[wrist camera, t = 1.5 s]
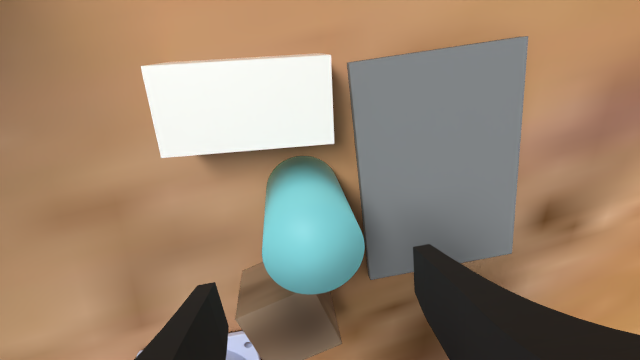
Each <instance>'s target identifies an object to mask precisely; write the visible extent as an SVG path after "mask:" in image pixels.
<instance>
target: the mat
mask: <svg viewBox="0 0 640 360" xmlns="http://www.w3.org/2000/svg"><path fill="white" fill-rule="evenodd" d="M527 46H528V36H526V37H516V38H509V39H502V40H496V41H489V42H482V43H476V44H469V45H462V46H455V47H449V48H442V49H435V50H429V51H422V52H415V53H408V54H402V55H395V56H388V57H382V58H375V59H368V60H362V61H355V62H348V63H347V69H348V79H349V89H350V99H351V109H352V119H353V129H354V138H355V148H356V158H357V168H358V178H359V188H360V198H361V207H362V217H363V227H364V237H365V247H366V257H367V267H368V275H369V278H370V280H373V279H378V278H383V277H389V276H394V275H399V274H405V273H410V272H414V261H413V247H415V246H421V245H426V244H430V245H432V246H433V247H435V248H437V249H438V250H440V251H441V252H443V253H444V254H446V255H447V256H449V257H451V258H452V259H454V260H455V261H457V262H458V263H463V262H469V261H474V260H479V259H485V258H490V257H495V256H501V255H506V254H511V253H512V244H513V231H514V218H515V205H516V191H517V178H518V165H519V152H520V138H521V125H522V112H523V99H524V86H525V72H526V59H527Z"/></svg>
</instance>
